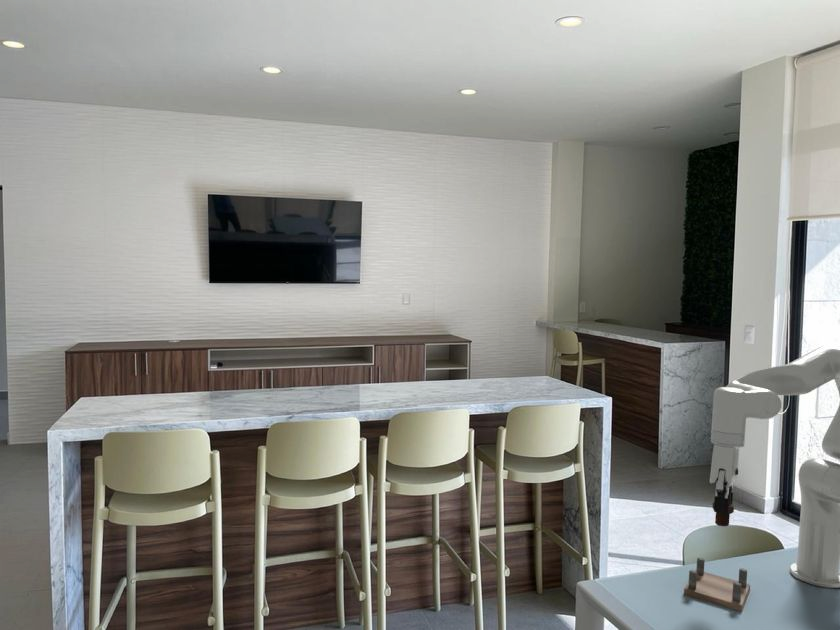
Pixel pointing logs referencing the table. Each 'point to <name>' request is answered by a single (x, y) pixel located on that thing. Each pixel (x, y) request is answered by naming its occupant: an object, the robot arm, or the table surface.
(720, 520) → the bolt
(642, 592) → the table surface
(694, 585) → the peg holder
